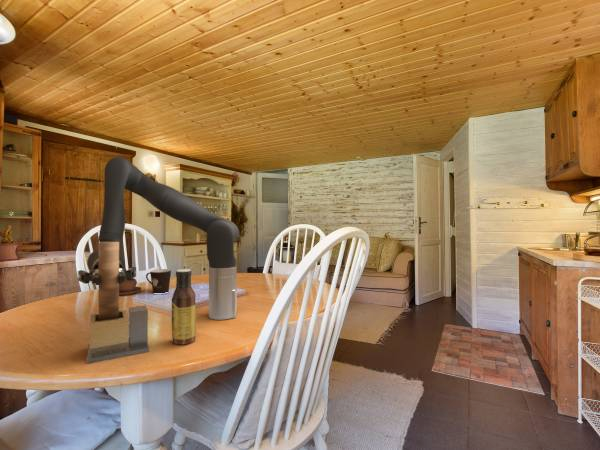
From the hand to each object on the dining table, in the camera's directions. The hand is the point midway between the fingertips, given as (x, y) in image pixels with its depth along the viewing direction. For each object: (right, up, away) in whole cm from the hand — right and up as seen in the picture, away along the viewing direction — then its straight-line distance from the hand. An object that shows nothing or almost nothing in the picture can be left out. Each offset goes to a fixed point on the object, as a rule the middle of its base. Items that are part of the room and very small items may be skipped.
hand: (109, 279), depth 77 cm
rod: (-2, -13, +3) cm, 13 cm away
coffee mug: (-17, -17, +66) cm, 70 cm away
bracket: (0, -19, +4) cm, 19 cm away
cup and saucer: (-30, -17, +63) cm, 72 cm away
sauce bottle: (+15, -19, +10) cm, 26 cm away
